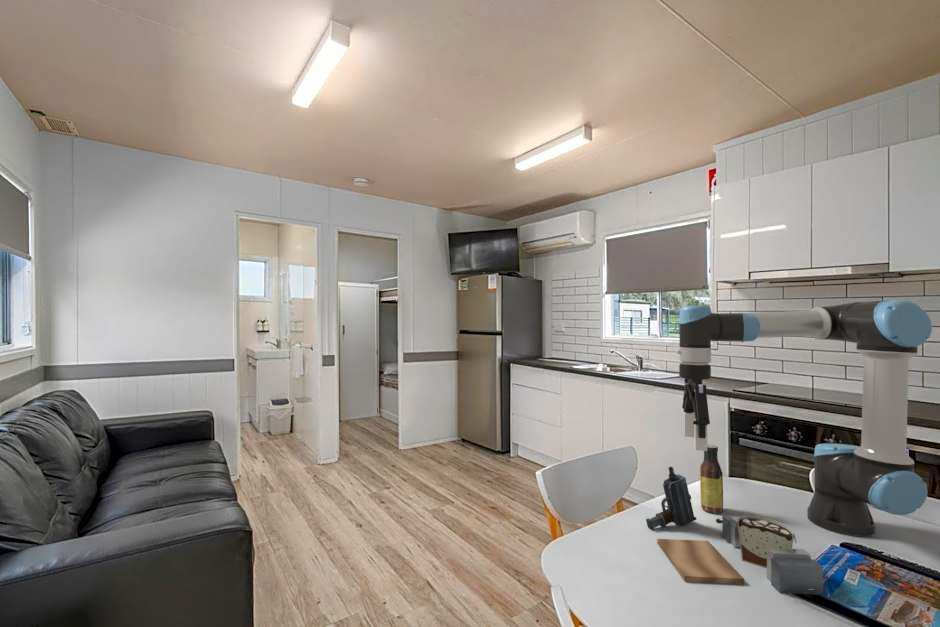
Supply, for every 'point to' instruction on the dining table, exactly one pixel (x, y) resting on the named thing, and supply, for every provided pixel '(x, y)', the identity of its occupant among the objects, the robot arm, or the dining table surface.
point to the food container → (762, 538)
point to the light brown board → (699, 561)
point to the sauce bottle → (711, 482)
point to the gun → (674, 503)
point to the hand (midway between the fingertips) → (694, 443)
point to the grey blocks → (782, 564)
